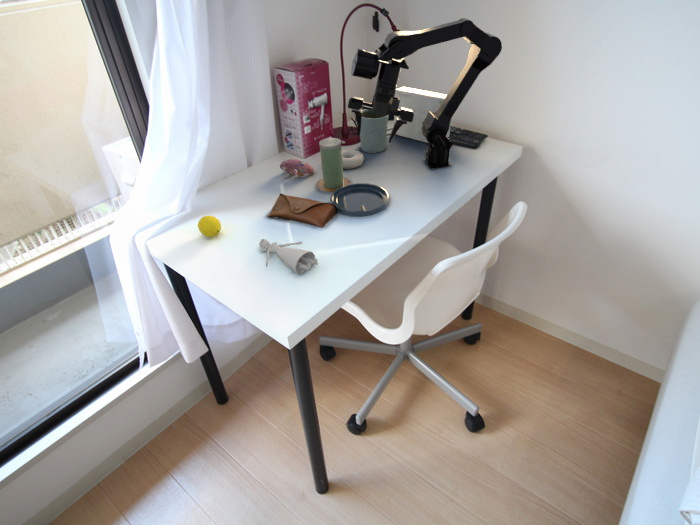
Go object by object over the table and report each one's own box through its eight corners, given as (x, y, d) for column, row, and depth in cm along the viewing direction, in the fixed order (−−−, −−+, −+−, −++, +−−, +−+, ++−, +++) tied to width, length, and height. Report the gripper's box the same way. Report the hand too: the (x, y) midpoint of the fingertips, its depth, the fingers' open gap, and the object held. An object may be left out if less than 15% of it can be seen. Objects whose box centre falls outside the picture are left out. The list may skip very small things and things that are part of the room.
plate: (380, 186, 127) (380, 179, 126) (395, 212, 115) (395, 206, 113) (327, 193, 125) (326, 187, 124) (336, 222, 113) (335, 215, 111)
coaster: (347, 176, 134) (346, 174, 133) (353, 190, 126) (353, 188, 125) (315, 180, 132) (314, 178, 132) (319, 195, 125) (319, 193, 124)
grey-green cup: (357, 143, 154) (356, 109, 146) (385, 140, 154) (385, 107, 147) (361, 155, 145) (360, 119, 138) (391, 152, 146) (391, 116, 139)
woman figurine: (292, 270, 90) (240, 246, 100) (296, 287, 92) (244, 262, 103) (330, 244, 97) (277, 224, 107) (332, 261, 99) (280, 239, 110)
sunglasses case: (264, 216, 116) (268, 191, 115) (278, 216, 122) (281, 193, 121) (324, 228, 110) (328, 202, 109) (335, 228, 116) (339, 203, 115)
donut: (362, 170, 136) (365, 157, 144) (362, 160, 134) (364, 147, 142) (331, 171, 137) (335, 157, 145) (330, 161, 135) (334, 147, 143)
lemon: (196, 235, 112) (190, 217, 108) (214, 226, 115) (208, 208, 111) (211, 244, 108) (205, 226, 104) (229, 235, 111) (224, 217, 107)
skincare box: (450, 142, 150) (454, 95, 140) (441, 147, 147) (445, 99, 137) (402, 129, 162) (403, 85, 152) (393, 134, 159) (393, 89, 149)
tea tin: (342, 177, 132) (338, 136, 124) (346, 186, 127) (343, 144, 119) (322, 180, 131) (317, 139, 123) (325, 190, 126) (320, 147, 118)
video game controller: (283, 178, 138) (275, 164, 132) (288, 167, 140) (281, 152, 134) (311, 182, 135) (304, 168, 129) (316, 170, 137) (309, 156, 130)
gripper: (352, 77, 112) (340, 137, 119) (421, 93, 113) (406, 152, 120) (354, 75, 122) (343, 130, 129) (418, 89, 123) (404, 144, 130)
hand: (374, 139), depth 127 cm, fingers open, 9 cm apart
